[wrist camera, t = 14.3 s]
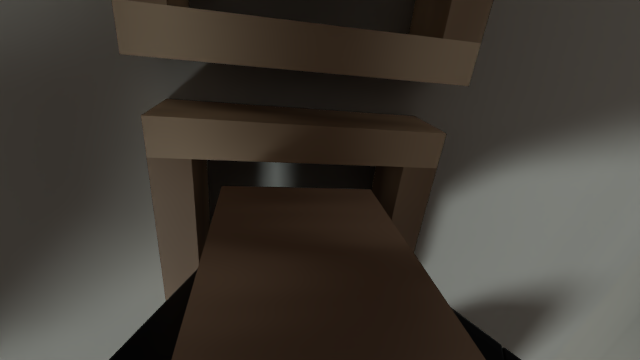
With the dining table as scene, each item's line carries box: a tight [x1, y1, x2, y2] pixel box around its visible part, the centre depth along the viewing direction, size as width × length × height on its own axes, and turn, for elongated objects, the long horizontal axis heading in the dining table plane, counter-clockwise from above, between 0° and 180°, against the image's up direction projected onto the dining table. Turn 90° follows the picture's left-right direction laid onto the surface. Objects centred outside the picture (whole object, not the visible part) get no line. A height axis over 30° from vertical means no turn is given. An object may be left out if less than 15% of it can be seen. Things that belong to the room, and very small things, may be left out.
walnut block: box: [171, 186, 486, 360], centre depth 6 cm, size 4×4×6 cm
